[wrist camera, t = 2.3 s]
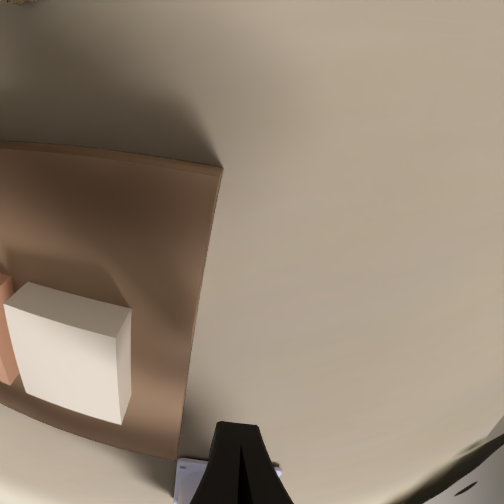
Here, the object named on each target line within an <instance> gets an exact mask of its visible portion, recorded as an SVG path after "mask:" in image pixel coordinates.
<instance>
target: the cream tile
mask: <svg viewBox="0 0 504 504" xmlns="http://www.w3.org/2000/svg"><path fill="white" fill-rule="evenodd" d="M3 304H4V310H5V315H6V320H7V325H8V330H9V334H10V338H11V342H12V346H13V350H14V354H15V358H16V362H17V365H18V369H19V372H20V375H21V379H22V382H23V385H24V388H25V391H26V393H28V394H30V395H33V396H35V397H38V398H40V399H43V400H45V401H48V402H51V403H53V404H56V405H59V406H61V407H64V408H67V409H70V410H73V411H76V412H79V413H82V414H85V415H88V416H91V417H95V418H98V419H101V420H105V421H108V422H112V423H116V424H119V425H122V422H123V419H124V416H125V412H126V409H127V406H128V403H129V400H130V397H131V308H127V307H122V306H118V305H114V304H110V303H106V302H101V301H97V300H93V299H89V298H85V297H82V296H78V295H74V294H70V293H66V292H63V291H59V290H56V289H52V288H48V287H45V286H41V285H38V284H35V283H31V282H27V283H26V284H25V285H24V286H22V287H21V288H20V289H19V290H18V291H17V292H16V293H15V294H13V295H12V296H11V297H10V298H9V299H8V300H7V301H6V302H5V303H3Z"/></svg>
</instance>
